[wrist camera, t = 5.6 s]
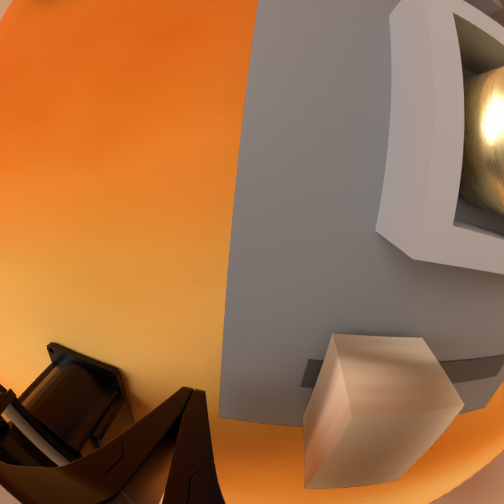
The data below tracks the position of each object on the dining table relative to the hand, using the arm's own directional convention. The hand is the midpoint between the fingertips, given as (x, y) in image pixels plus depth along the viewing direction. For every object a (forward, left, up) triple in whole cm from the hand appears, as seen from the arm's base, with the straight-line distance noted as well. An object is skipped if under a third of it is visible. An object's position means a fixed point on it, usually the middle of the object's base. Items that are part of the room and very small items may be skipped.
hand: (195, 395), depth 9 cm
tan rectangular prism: (+7, 0, -2) cm, 7 cm away
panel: (+10, +10, -4) cm, 14 cm away
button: (+10, +11, -2) cm, 14 cm away
